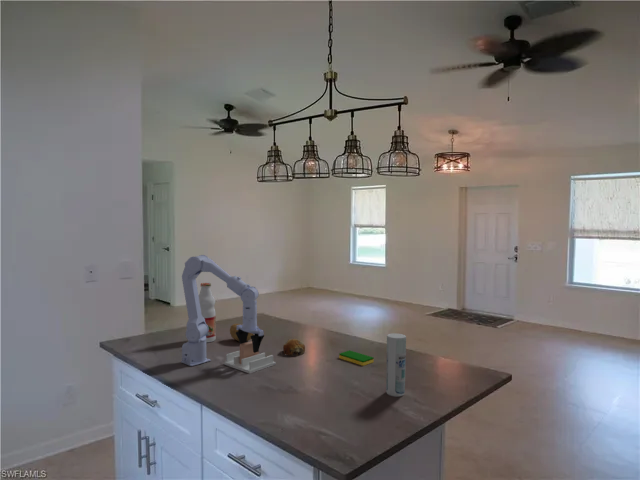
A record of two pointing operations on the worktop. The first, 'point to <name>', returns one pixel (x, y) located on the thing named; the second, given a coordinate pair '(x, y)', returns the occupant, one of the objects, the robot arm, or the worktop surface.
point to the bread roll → (293, 347)
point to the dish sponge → (356, 358)
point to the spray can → (396, 364)
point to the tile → (247, 350)
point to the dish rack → (249, 362)
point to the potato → (234, 329)
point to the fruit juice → (208, 310)
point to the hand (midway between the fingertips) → (249, 350)
